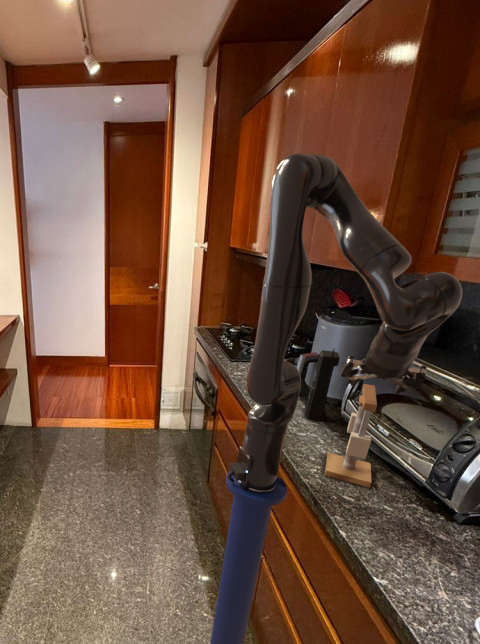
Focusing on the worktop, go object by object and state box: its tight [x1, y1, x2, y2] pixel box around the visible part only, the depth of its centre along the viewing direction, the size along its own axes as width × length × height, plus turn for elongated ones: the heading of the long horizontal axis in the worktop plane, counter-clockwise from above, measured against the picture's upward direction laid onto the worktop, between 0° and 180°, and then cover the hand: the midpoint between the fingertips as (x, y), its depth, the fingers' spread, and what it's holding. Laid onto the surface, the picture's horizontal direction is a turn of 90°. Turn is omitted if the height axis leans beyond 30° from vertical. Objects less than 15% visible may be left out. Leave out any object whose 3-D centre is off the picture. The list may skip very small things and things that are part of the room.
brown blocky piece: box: [345, 383, 378, 460], centre depth 97 cm, size 4×15×14 cm, turn 148°
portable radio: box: [303, 348, 341, 422], centre depth 129 cm, size 8×6×25 cm
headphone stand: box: [324, 395, 373, 489], centre depth 99 cm, size 10×10×21 cm
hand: (374, 386), depth 89 cm, fingers open, 8 cm apart
